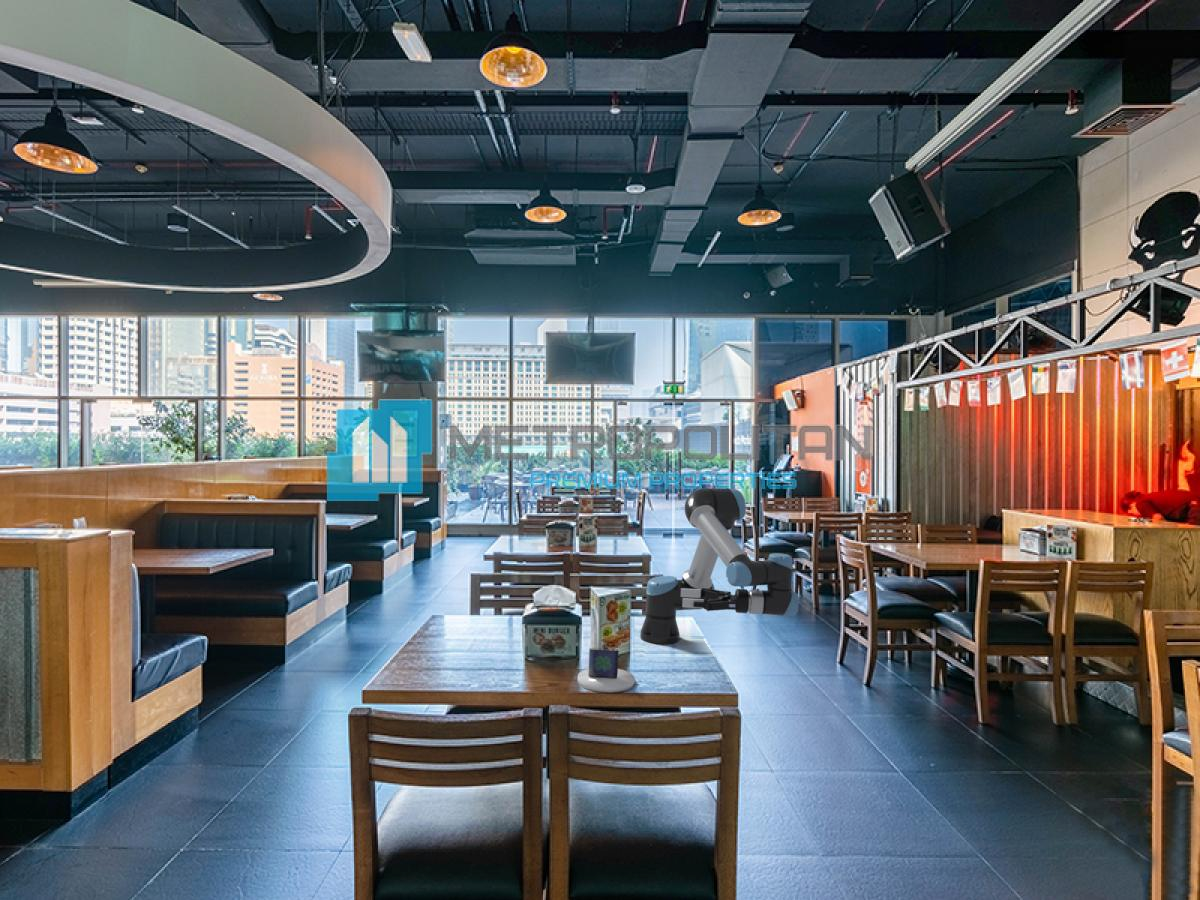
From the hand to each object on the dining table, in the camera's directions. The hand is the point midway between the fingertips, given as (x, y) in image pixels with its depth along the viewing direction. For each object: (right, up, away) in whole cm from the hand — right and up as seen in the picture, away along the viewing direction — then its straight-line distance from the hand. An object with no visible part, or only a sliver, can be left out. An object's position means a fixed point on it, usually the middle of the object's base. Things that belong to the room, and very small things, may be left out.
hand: (681, 597), depth 224 cm
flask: (-26, -24, -5) cm, 36 cm away
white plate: (-25, -26, -5) cm, 36 cm away
